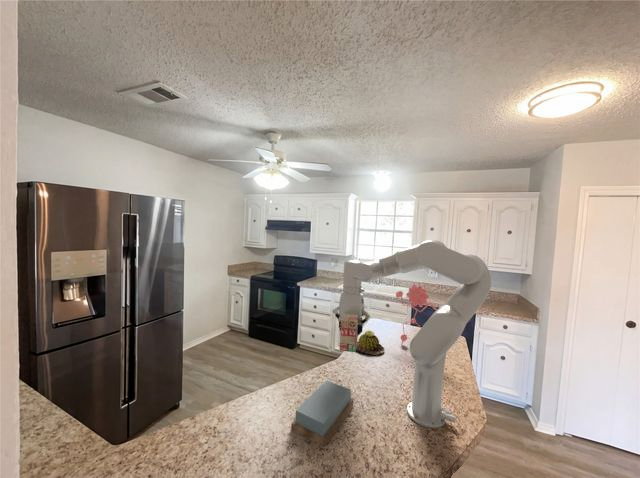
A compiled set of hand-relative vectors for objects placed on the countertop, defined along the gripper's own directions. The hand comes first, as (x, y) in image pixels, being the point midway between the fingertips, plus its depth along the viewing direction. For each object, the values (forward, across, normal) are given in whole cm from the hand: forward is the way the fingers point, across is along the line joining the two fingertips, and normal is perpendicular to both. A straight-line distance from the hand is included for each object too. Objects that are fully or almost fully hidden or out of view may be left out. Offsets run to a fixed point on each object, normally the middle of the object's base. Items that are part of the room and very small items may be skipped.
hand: (350, 331), depth 112 cm
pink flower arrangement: (+22, -20, -55) cm, 63 cm away
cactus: (+22, +2, -36) cm, 43 cm away
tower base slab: (+23, -1, +25) cm, 34 cm away
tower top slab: (+19, -1, +25) cm, 31 cm away
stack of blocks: (+4, 0, 0) cm, 4 cm away
